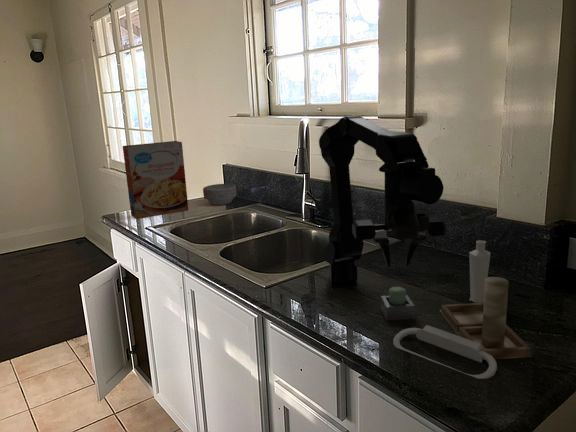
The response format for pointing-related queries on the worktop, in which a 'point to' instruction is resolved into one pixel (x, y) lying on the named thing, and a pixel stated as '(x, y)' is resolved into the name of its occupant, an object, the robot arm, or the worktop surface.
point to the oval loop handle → (450, 346)
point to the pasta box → (155, 178)
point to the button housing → (397, 309)
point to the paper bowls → (219, 193)
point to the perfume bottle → (478, 271)
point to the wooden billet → (494, 312)
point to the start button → (397, 296)
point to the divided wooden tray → (470, 327)
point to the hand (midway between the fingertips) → (397, 266)
